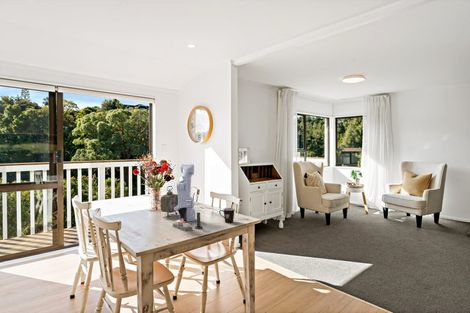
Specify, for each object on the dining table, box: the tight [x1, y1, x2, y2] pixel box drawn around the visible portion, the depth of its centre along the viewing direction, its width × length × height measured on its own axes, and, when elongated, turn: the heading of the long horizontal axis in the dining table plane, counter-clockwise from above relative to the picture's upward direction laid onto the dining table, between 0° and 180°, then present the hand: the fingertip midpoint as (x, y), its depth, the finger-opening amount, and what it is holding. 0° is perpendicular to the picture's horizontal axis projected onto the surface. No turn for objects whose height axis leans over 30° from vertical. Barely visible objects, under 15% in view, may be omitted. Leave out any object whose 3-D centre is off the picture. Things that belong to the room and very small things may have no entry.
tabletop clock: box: [159, 185, 178, 218], centre depth 236 cm, size 14×9×25 cm, turn 153°
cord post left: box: [183, 210, 189, 223], centre depth 213 cm, size 5×5×11 cm
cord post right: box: [194, 211, 203, 230], centre depth 201 cm, size 5×5×11 cm
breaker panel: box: [172, 219, 193, 232], centre depth 202 cm, size 6×16×4 cm, turn 44°
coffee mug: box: [218, 207, 235, 224], centre depth 217 cm, size 12×9×10 cm
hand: (182, 218), depth 202 cm, fingers closed
